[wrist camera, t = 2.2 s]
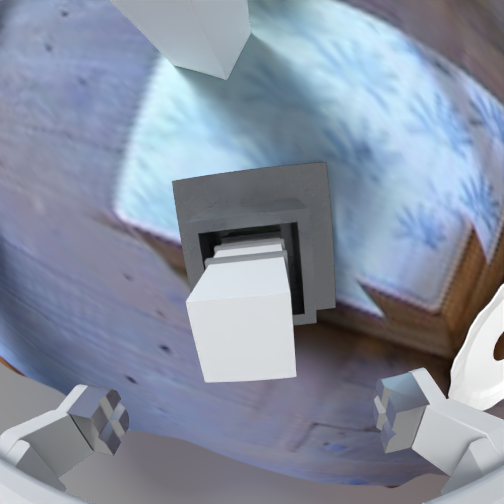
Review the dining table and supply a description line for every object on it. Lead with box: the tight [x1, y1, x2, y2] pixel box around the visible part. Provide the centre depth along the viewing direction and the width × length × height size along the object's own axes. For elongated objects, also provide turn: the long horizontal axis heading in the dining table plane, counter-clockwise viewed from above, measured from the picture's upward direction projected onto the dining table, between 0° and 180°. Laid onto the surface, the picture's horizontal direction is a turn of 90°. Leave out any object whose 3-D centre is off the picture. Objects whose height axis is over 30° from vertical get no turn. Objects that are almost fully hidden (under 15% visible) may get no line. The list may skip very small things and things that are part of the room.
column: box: [186, 224, 296, 382], centre depth 19 cm, size 4×4×16 cm
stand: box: [172, 162, 335, 325], centre depth 23 cm, size 14×14×10 cm
